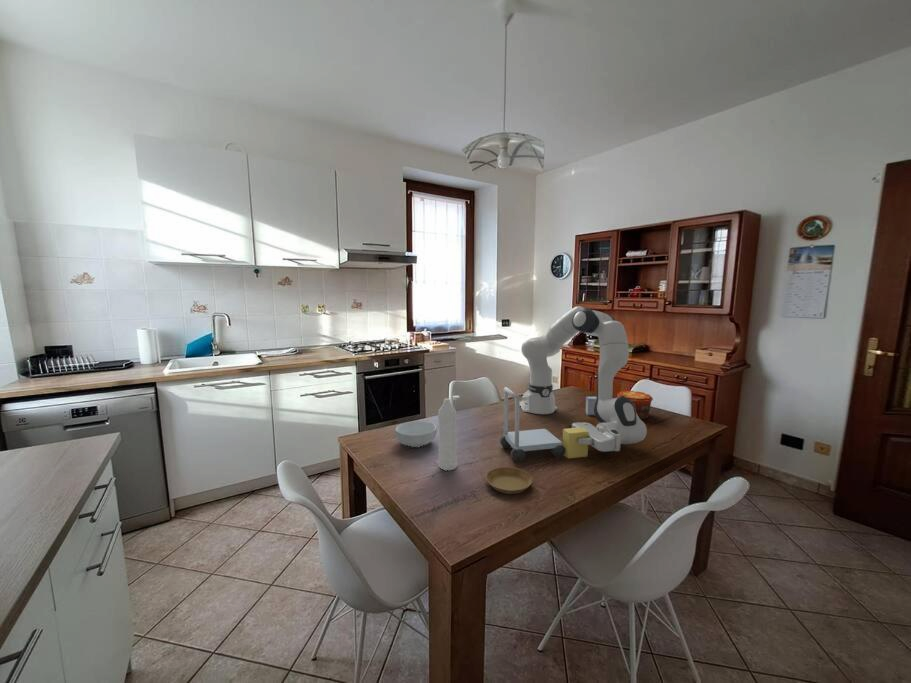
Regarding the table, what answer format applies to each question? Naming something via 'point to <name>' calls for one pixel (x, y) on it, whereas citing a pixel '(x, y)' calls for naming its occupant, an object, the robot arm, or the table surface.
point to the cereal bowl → (416, 433)
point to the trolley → (527, 435)
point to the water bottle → (447, 435)
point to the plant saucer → (509, 480)
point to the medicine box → (590, 405)
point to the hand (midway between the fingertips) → (573, 437)
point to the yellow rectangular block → (575, 442)
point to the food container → (639, 402)
